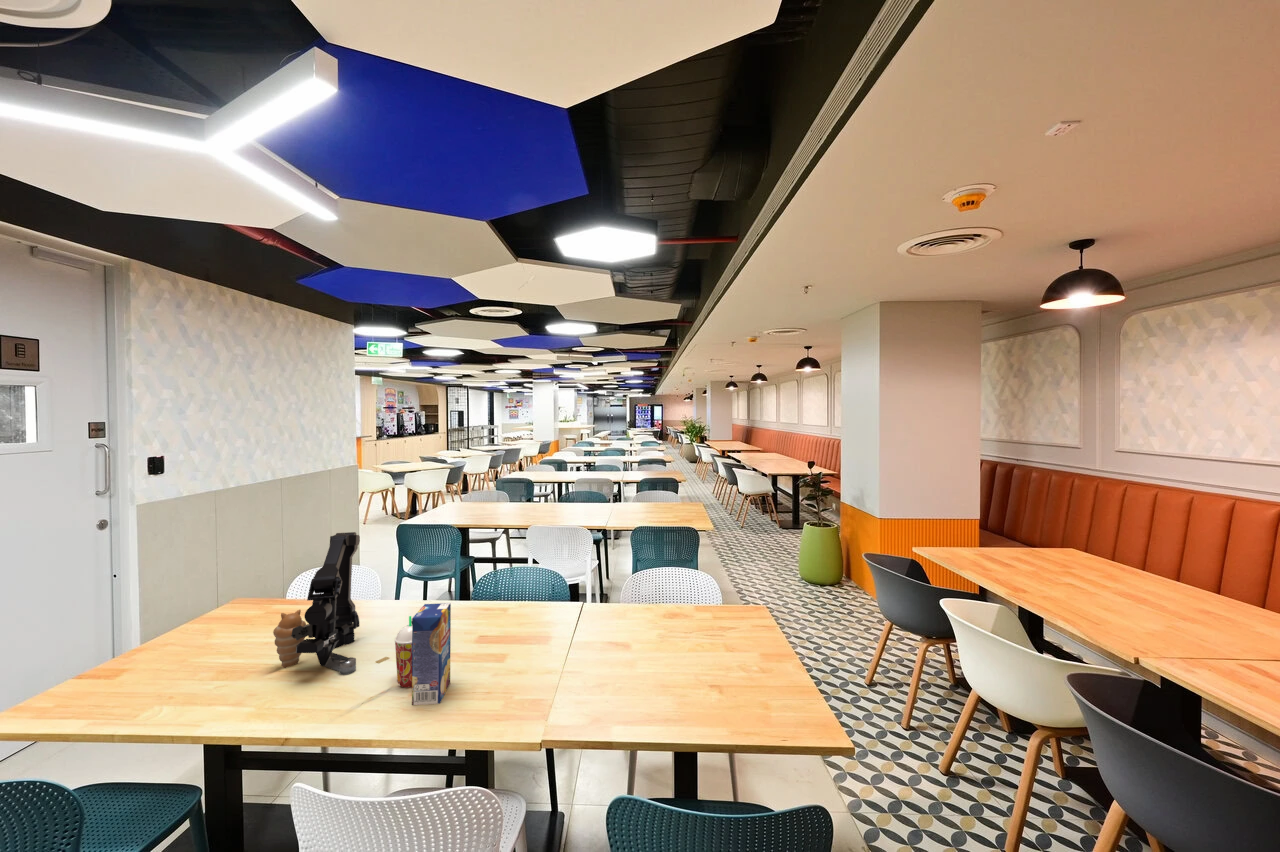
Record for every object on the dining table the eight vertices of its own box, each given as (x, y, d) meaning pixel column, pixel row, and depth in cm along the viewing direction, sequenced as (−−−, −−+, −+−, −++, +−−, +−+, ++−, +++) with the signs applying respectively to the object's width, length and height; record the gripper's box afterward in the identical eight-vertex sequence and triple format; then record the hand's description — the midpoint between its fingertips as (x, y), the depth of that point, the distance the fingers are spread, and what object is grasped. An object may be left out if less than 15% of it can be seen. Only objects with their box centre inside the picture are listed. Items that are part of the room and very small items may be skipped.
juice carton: (439, 703, 144) (440, 616, 145) (411, 705, 144) (412, 618, 144) (450, 683, 156) (450, 602, 157) (424, 684, 156) (424, 603, 156)
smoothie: (400, 677, 160) (401, 612, 160) (428, 676, 161) (428, 611, 161) (389, 690, 152) (390, 621, 152) (419, 689, 152) (419, 620, 153)
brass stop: (375, 664, 167) (375, 661, 167) (386, 659, 171) (386, 656, 171) (378, 665, 166) (378, 662, 166) (389, 660, 170) (389, 657, 170)
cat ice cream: (303, 660, 172) (303, 605, 173) (309, 667, 167) (309, 611, 167) (271, 668, 166) (271, 611, 166) (276, 676, 160) (276, 618, 161)
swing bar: (358, 670, 162) (359, 659, 162) (345, 676, 158) (345, 664, 158) (331, 660, 168) (331, 650, 168) (317, 666, 164) (317, 655, 165)
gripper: (317, 605, 172) (314, 654, 171) (279, 624, 153) (276, 678, 152) (351, 606, 172) (348, 654, 171) (317, 624, 153) (314, 678, 153)
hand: (322, 665), depth 162 cm, fingers closed
